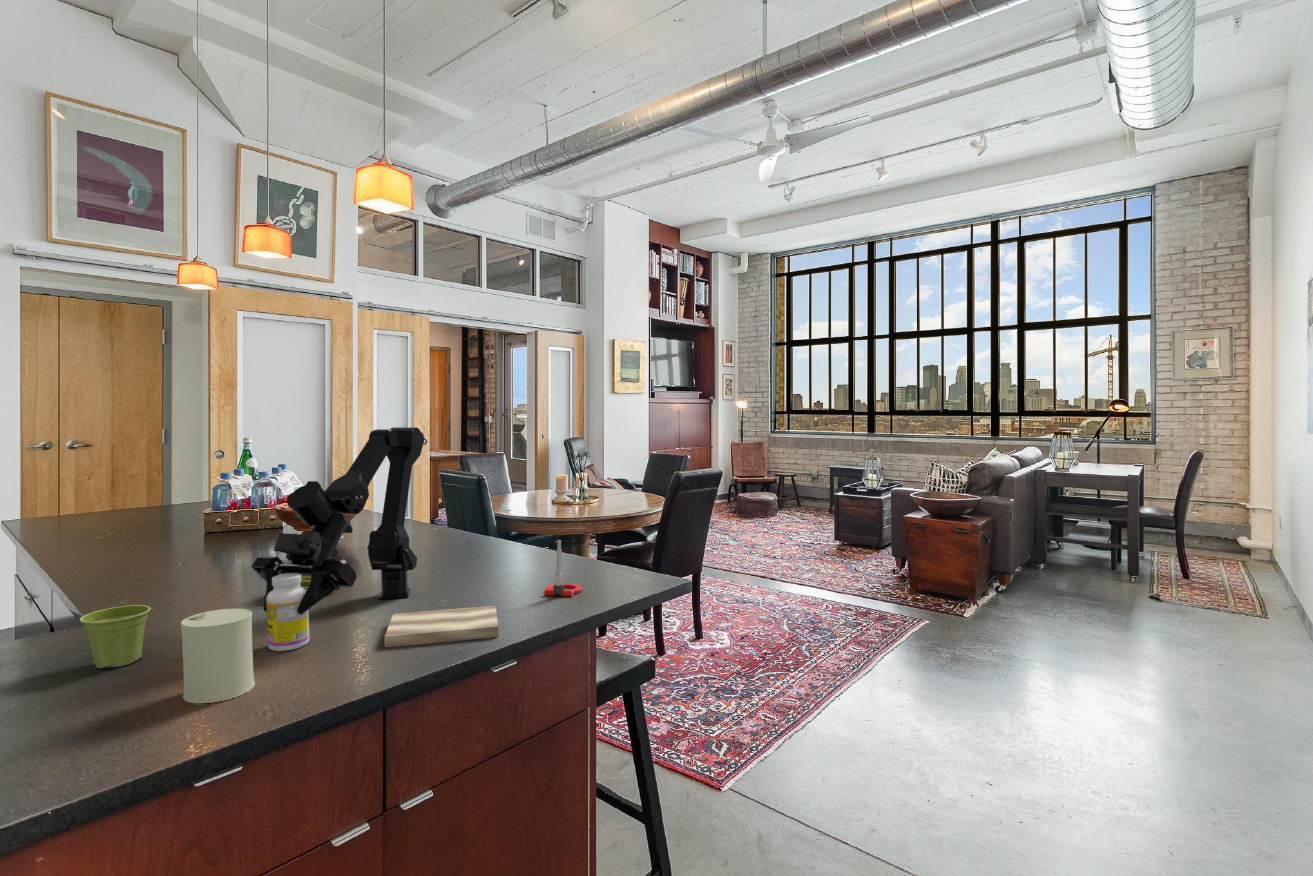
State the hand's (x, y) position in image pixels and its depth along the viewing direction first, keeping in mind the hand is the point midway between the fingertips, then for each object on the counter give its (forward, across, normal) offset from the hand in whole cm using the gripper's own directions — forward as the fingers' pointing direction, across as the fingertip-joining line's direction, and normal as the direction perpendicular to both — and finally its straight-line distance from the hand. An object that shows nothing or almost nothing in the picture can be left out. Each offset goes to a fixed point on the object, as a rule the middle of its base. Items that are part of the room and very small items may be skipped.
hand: (282, 612), depth 120 cm
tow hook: (-27, +38, +37) cm, 59 cm away
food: (-18, -22, +28) cm, 40 cm away
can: (+17, +4, -8) cm, 19 cm away
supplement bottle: (+4, 0, +6) cm, 7 cm away
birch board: (-6, +24, +15) cm, 28 cm away
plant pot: (+13, -23, -3) cm, 26 cm away
